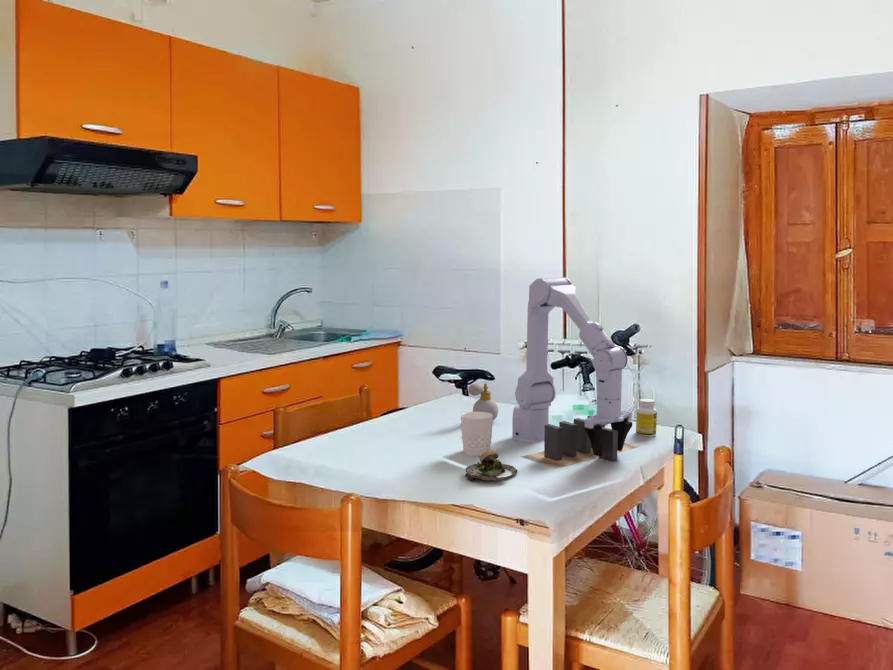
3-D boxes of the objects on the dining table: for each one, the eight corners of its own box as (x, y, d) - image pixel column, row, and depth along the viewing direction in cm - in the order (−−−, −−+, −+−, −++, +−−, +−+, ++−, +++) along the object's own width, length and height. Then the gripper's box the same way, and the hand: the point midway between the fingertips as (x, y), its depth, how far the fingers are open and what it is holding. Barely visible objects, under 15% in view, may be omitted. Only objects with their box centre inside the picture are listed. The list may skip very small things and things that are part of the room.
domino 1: (557, 461, 186) (557, 428, 185) (544, 456, 189) (544, 425, 188) (561, 459, 187) (562, 427, 186) (549, 455, 190) (549, 424, 189)
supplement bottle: (656, 438, 208) (657, 402, 207) (636, 437, 209) (637, 401, 208) (655, 433, 214) (656, 398, 212) (635, 432, 215) (636, 397, 213)
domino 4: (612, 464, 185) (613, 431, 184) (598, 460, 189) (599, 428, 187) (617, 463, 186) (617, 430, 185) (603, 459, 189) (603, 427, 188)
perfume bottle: (502, 420, 229) (502, 380, 228) (489, 427, 221) (489, 386, 219) (478, 417, 233) (478, 378, 231) (465, 425, 224) (465, 384, 222)
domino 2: (571, 457, 189) (572, 425, 188) (558, 453, 192) (559, 421, 191) (576, 456, 190) (576, 424, 189) (563, 452, 193) (563, 421, 192)
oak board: (555, 470, 180) (555, 467, 180) (520, 458, 190) (520, 456, 190) (640, 448, 198) (640, 446, 198) (604, 439, 208) (604, 436, 208)
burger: (465, 485, 171) (465, 452, 170) (464, 469, 183) (464, 438, 182) (519, 485, 171) (520, 452, 170) (515, 469, 183) (515, 438, 182)
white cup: (496, 451, 197) (496, 412, 196) (487, 459, 189) (487, 419, 188) (466, 448, 199) (466, 410, 198) (456, 457, 192) (456, 417, 191)
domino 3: (586, 453, 192) (586, 422, 191) (573, 450, 195) (573, 418, 194) (590, 452, 193) (591, 421, 192) (577, 448, 196) (578, 418, 195)
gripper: (601, 404, 178) (599, 461, 179) (642, 396, 186) (640, 451, 188) (578, 399, 183) (577, 455, 185) (619, 391, 192) (618, 445, 194)
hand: (607, 452), depth 187 cm, fingers open, 7 cm apart
